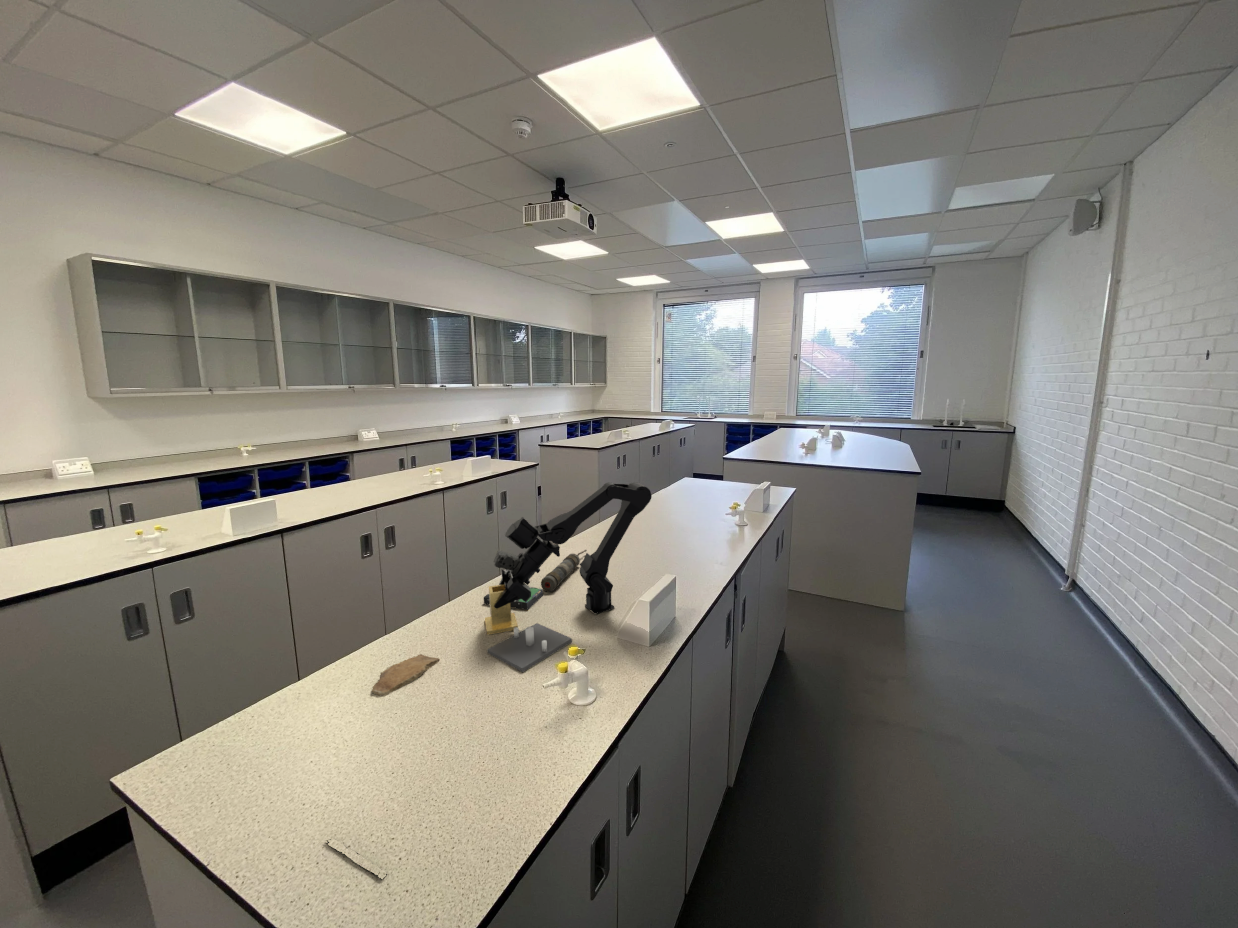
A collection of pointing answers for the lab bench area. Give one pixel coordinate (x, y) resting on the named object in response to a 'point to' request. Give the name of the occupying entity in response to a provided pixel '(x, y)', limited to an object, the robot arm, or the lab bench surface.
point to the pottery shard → (402, 674)
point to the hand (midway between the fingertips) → (494, 603)
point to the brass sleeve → (499, 613)
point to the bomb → (560, 572)
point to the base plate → (529, 646)
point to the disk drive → (521, 604)
